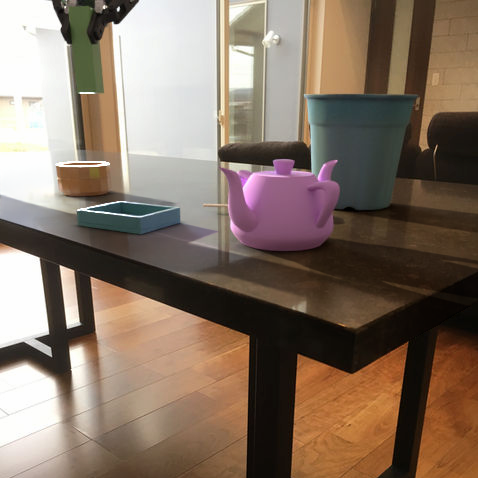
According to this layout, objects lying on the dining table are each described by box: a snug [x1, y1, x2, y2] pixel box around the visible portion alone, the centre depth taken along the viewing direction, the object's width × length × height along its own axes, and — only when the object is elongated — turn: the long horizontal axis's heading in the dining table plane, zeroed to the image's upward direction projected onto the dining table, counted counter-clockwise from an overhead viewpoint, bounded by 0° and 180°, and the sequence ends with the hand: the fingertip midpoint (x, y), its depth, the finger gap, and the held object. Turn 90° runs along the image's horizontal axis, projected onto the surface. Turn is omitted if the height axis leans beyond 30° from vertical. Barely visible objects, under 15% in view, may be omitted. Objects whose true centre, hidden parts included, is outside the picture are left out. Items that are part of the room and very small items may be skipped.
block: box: [68, 6, 105, 94], centre depth 75 cm, size 3×3×11 cm
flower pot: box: [303, 93, 419, 211], centre depth 79 cm, size 16×16×16 cm
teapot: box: [218, 158, 340, 252], centre depth 57 cm, size 12×14×9 cm
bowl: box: [55, 161, 113, 197], centre depth 92 cm, size 9×9×5 cm
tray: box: [75, 200, 182, 235], centre depth 67 cm, size 10×8×2 cm
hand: (79, 38), depth 73 cm, fingers closed on block, 3 cm apart
